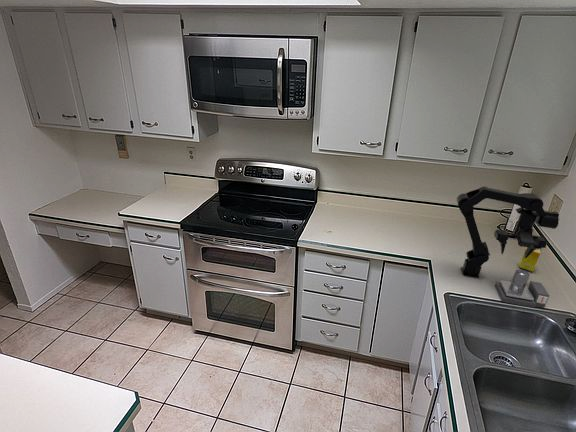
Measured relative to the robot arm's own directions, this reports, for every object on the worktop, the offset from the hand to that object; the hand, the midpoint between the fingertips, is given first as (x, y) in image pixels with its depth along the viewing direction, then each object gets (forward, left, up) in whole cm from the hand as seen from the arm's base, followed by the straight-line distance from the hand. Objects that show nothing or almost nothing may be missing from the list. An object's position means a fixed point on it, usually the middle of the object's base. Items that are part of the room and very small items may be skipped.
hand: (513, 255), depth 155 cm
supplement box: (+14, +15, -13) cm, 24 cm away
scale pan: (+1, -12, -10) cm, 16 cm away
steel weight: (+1, -12, -9) cm, 15 cm away
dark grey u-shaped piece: (+3, -12, -13) cm, 18 cm away
